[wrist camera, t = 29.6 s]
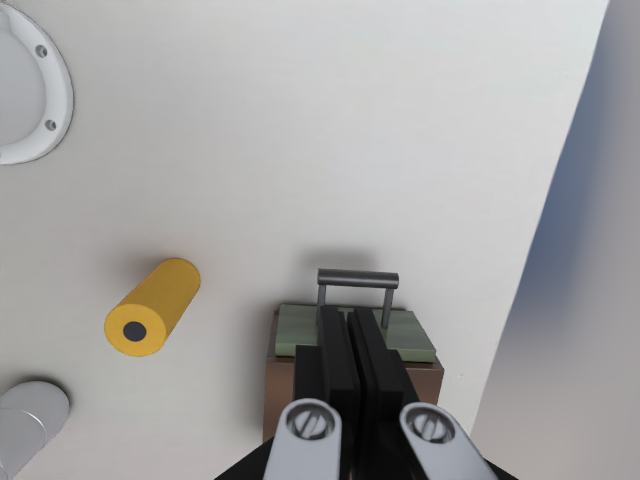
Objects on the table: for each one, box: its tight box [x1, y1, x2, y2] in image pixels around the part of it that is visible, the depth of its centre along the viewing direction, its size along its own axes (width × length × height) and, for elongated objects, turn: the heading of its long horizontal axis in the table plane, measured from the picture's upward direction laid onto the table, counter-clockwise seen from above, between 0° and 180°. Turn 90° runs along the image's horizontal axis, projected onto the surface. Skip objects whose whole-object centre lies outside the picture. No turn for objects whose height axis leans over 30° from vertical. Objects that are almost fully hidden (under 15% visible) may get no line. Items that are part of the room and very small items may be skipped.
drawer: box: [275, 268, 436, 363], centre depth 34 cm, size 20×13×7 cm
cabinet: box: [263, 311, 444, 480], centre depth 36 cm, size 16×15×9 cm
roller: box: [104, 259, 200, 357], centre depth 31 cm, size 4×4×10 cm
